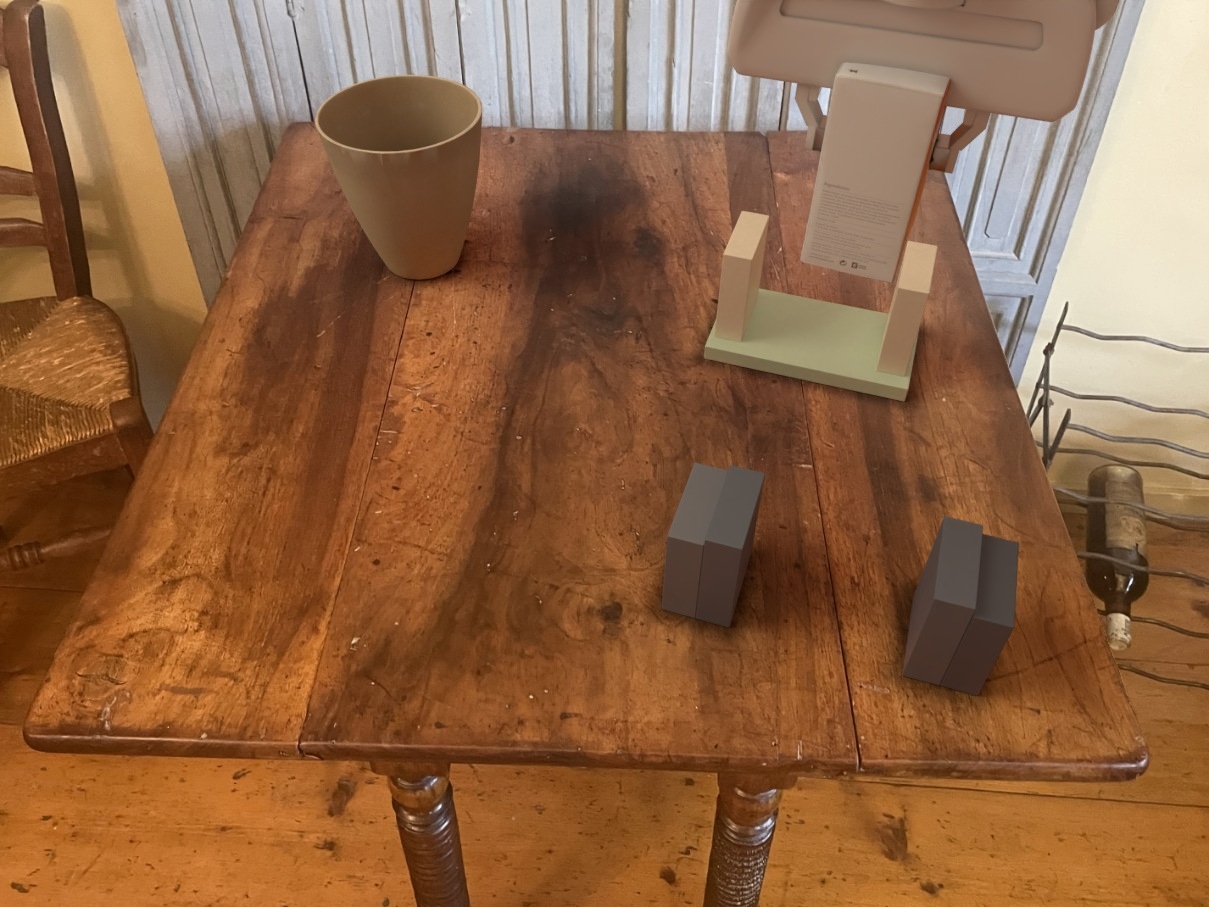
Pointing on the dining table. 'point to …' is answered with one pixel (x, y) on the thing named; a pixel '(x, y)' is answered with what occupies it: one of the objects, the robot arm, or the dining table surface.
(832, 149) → the small box
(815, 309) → the green book stand
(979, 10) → the robot arm
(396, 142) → the plant pot
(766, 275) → the dining table surface
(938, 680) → the grey bookends
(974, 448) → the dining table surface
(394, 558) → the dining table surface
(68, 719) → the dining table surface
